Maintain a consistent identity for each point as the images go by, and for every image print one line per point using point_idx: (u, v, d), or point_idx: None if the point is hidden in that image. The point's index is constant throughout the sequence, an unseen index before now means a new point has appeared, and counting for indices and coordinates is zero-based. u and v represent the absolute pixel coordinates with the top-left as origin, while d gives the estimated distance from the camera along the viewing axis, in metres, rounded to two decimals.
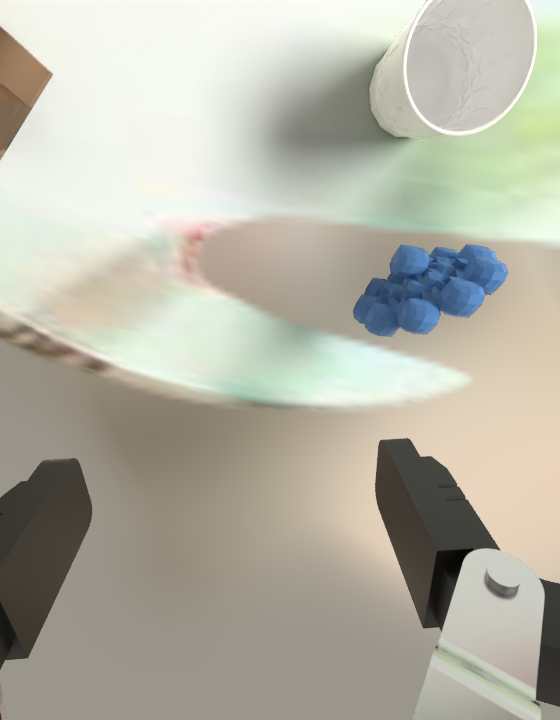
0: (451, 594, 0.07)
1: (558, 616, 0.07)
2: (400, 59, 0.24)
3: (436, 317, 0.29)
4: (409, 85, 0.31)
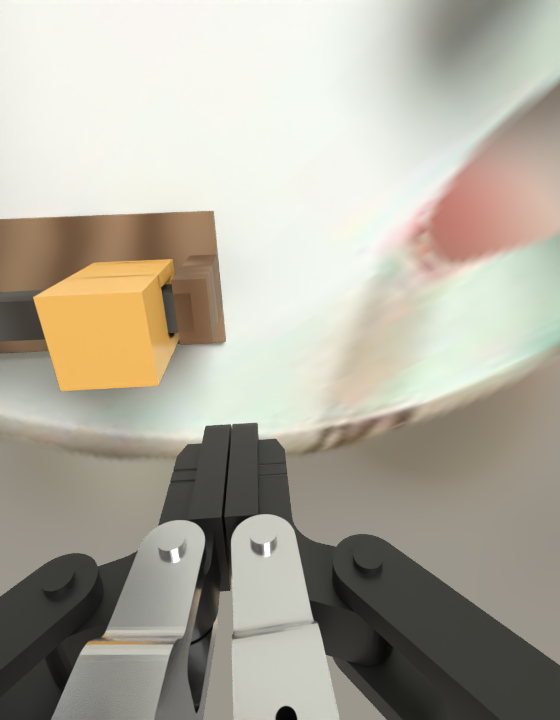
0: None
1: (311, 571, 0.07)
2: None
3: None
4: None
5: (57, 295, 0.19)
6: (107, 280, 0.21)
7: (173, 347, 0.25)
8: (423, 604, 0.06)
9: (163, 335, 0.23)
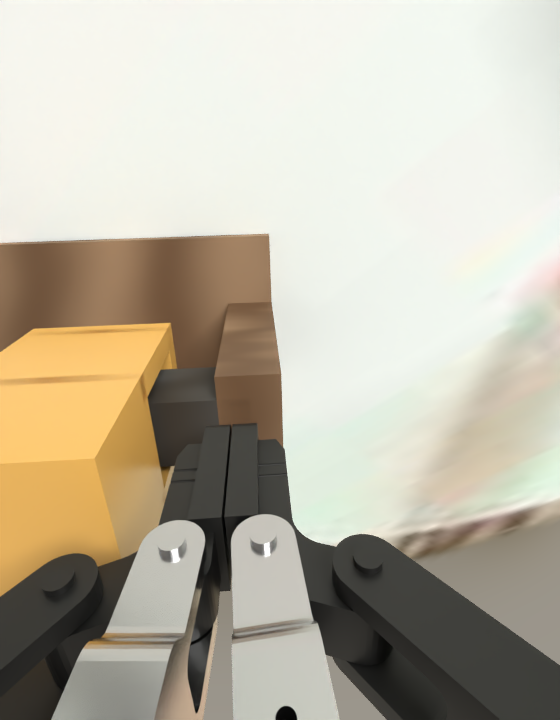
0: None
1: (311, 571, 0.07)
2: None
3: None
4: None
5: None
6: (34, 396, 0.10)
7: None
8: (423, 604, 0.06)
9: (151, 490, 0.12)
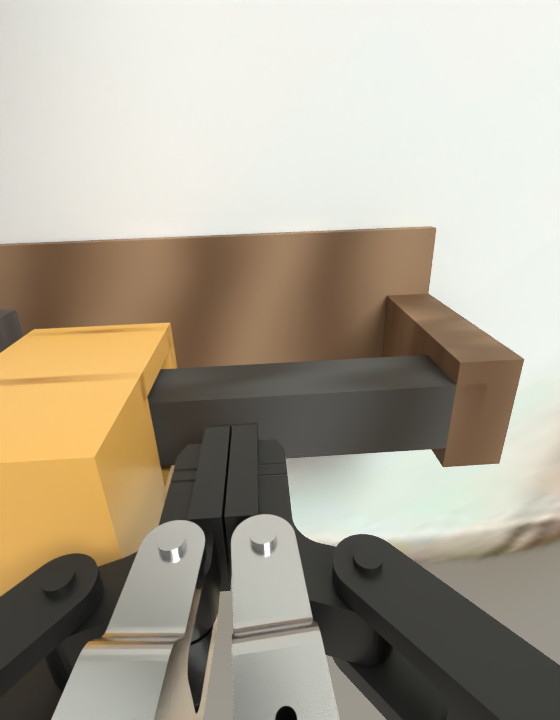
0: None
1: (310, 571, 0.07)
2: None
3: None
4: None
5: None
6: (34, 395, 0.10)
7: None
8: (423, 604, 0.06)
9: (151, 489, 0.12)
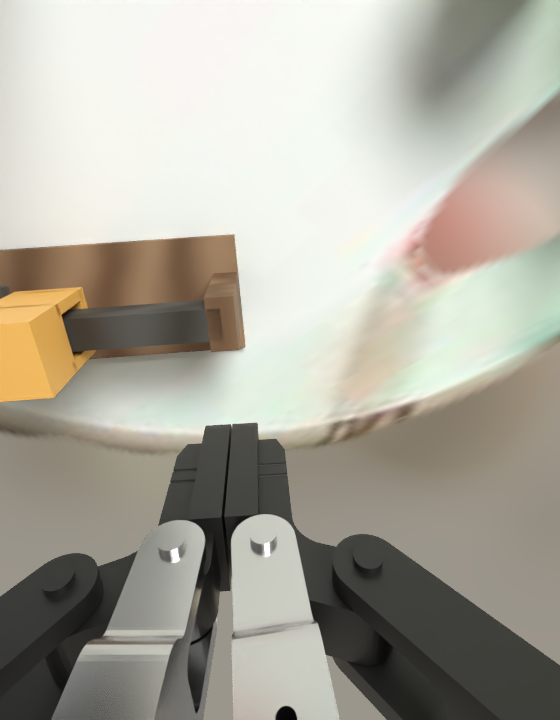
0: None
1: (311, 571, 0.07)
2: None
3: None
4: None
5: None
6: (10, 310, 0.26)
7: (81, 363, 0.30)
8: (423, 604, 0.06)
9: (63, 354, 0.27)
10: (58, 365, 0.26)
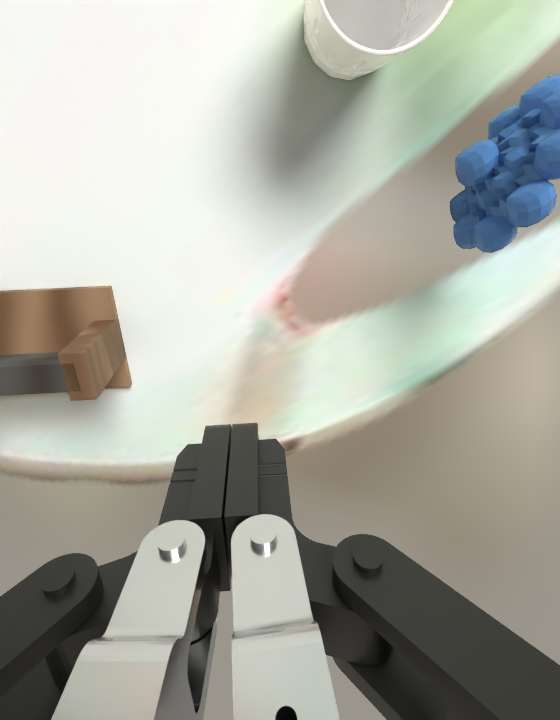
0: None
1: (311, 571, 0.07)
2: (330, 30, 0.22)
3: (551, 190, 0.25)
4: (345, 24, 0.28)
5: None
6: None
7: None
8: (423, 604, 0.06)
9: None
10: None
